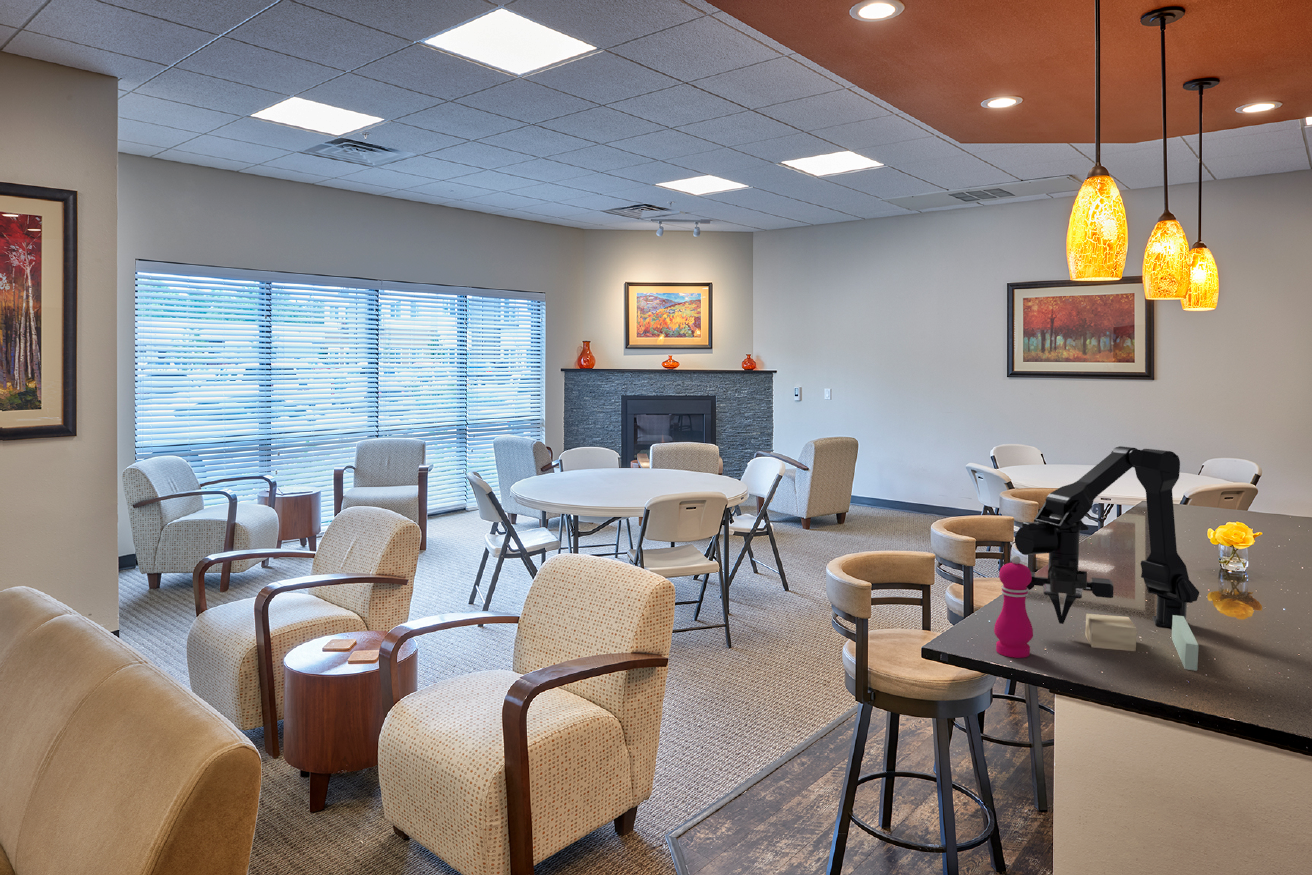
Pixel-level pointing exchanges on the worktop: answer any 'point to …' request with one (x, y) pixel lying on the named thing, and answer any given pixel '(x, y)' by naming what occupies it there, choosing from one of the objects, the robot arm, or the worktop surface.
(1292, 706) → the worktop surface
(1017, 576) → the pepper mill
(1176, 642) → the sage board
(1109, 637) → the maple block
